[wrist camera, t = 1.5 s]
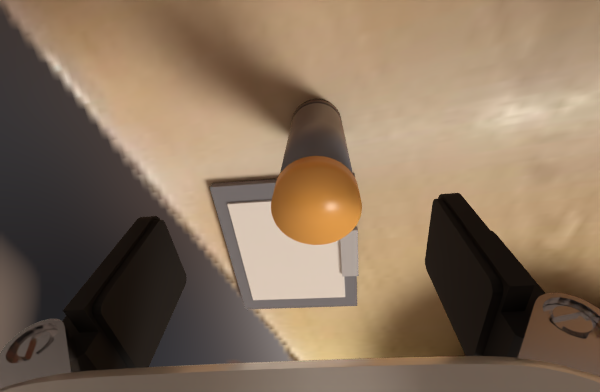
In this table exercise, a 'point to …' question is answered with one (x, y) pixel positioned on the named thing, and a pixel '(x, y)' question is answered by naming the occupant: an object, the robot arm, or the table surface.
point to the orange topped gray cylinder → (316, 179)
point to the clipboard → (281, 254)
